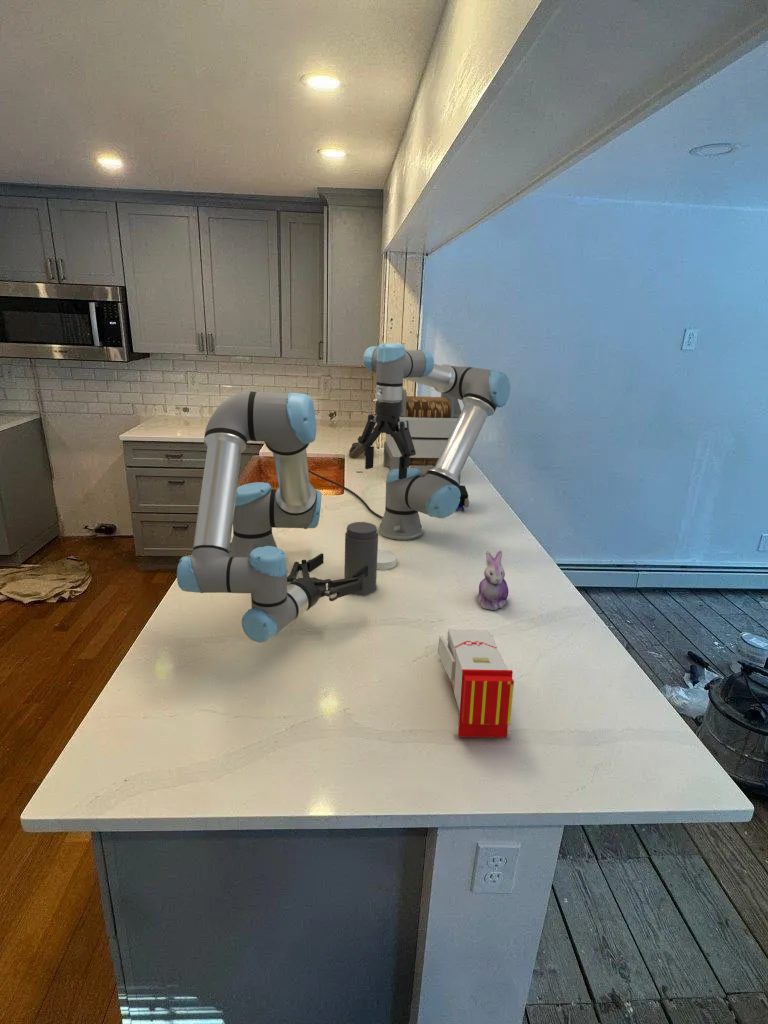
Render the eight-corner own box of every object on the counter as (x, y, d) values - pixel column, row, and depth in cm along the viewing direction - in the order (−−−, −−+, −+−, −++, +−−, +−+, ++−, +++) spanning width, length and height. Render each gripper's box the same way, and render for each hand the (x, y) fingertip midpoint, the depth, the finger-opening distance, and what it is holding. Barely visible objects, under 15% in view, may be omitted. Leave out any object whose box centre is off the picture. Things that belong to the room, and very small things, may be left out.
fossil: (349, 441, 314) (370, 425, 309) (359, 454, 317) (380, 439, 312) (342, 454, 295) (365, 438, 290) (354, 468, 298) (376, 453, 293)
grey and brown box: (382, 463, 289) (386, 382, 275) (445, 464, 293) (451, 384, 279) (390, 482, 257) (394, 392, 243) (460, 483, 261) (468, 394, 247)
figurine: (490, 614, 149) (496, 562, 144) (467, 597, 157) (472, 547, 152) (518, 607, 153) (525, 556, 148) (494, 591, 162) (500, 542, 156)
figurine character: (468, 516, 224) (463, 500, 237) (471, 498, 221) (465, 483, 234) (452, 515, 224) (447, 499, 237) (453, 498, 220) (449, 482, 234)
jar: (337, 586, 161) (338, 525, 155) (362, 577, 166) (364, 519, 160) (357, 598, 154) (359, 536, 148) (382, 589, 160) (385, 528, 154)
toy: (488, 613, 130) (523, 677, 101) (484, 667, 133) (517, 744, 104) (435, 612, 130) (455, 676, 101) (432, 666, 133) (451, 743, 103)
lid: (379, 572, 170) (379, 565, 169) (359, 561, 177) (359, 554, 176) (403, 564, 176) (403, 557, 175) (382, 553, 183) (382, 547, 182)
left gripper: (254, 598, 138) (304, 565, 155) (342, 627, 127) (385, 589, 145) (253, 570, 135) (304, 540, 153) (342, 598, 124) (386, 562, 142)
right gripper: (348, 395, 165) (347, 466, 172) (413, 408, 149) (408, 485, 156) (367, 393, 170) (365, 462, 177) (431, 405, 154) (426, 480, 161)
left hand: (344, 564), depth 149 cm, fingers open, 13 cm apart
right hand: (385, 473), depth 167 cm, fingers open, 13 cm apart
